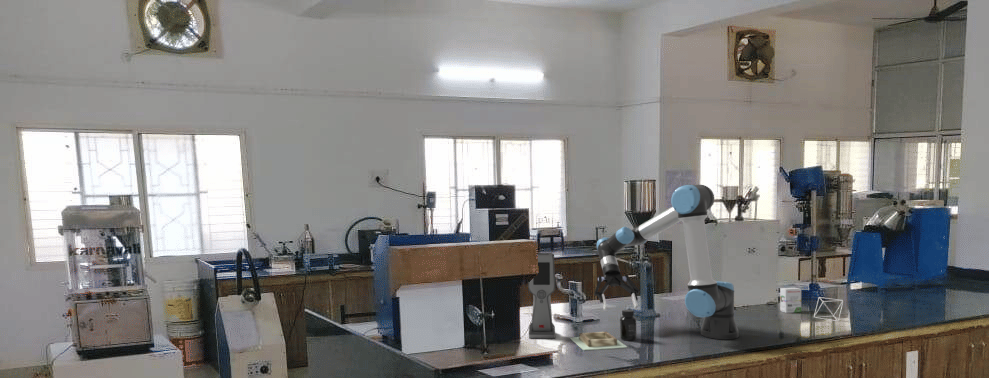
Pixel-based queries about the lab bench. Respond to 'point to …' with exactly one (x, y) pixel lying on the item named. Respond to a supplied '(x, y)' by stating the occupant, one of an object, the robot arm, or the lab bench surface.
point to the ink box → (790, 300)
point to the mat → (585, 347)
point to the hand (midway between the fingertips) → (620, 308)
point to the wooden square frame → (597, 339)
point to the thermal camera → (542, 298)
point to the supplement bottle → (628, 326)
